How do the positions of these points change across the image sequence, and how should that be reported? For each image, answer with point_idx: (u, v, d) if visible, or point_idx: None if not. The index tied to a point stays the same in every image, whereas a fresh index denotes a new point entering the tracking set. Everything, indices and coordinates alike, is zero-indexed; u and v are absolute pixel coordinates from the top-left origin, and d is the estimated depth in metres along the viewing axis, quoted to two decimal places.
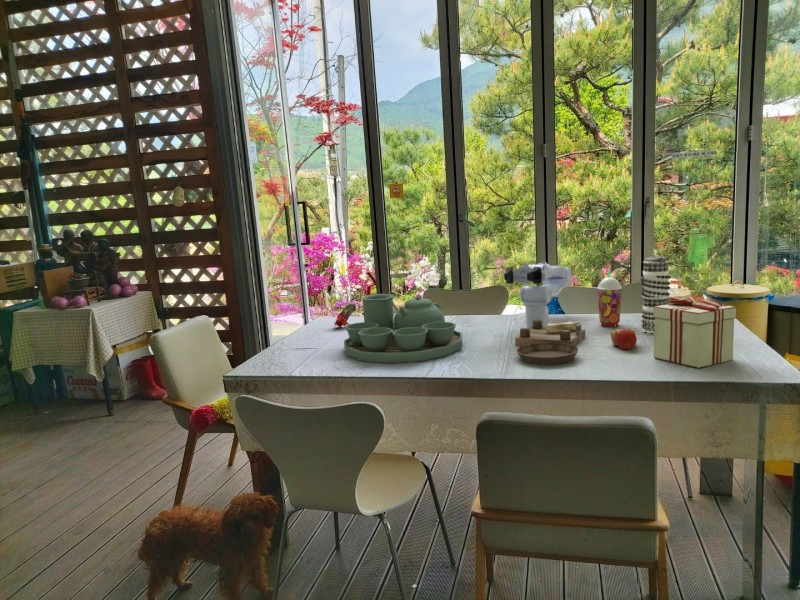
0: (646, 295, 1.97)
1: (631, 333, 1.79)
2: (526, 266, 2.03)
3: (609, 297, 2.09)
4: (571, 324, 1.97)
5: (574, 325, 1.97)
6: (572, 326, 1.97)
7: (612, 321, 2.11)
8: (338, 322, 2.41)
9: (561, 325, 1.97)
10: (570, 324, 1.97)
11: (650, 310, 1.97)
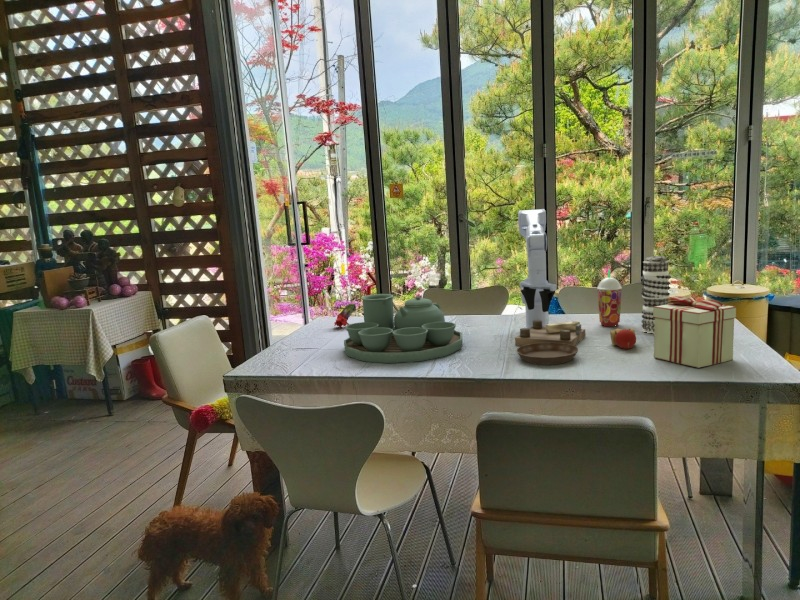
0: (646, 295, 1.97)
1: (631, 333, 1.80)
2: (532, 286, 1.97)
3: (609, 297, 2.09)
4: (571, 324, 1.97)
5: (574, 325, 1.97)
6: (572, 326, 1.97)
7: (612, 321, 2.11)
8: (338, 322, 2.41)
9: (561, 325, 1.97)
10: (570, 324, 1.97)
11: (650, 310, 1.97)
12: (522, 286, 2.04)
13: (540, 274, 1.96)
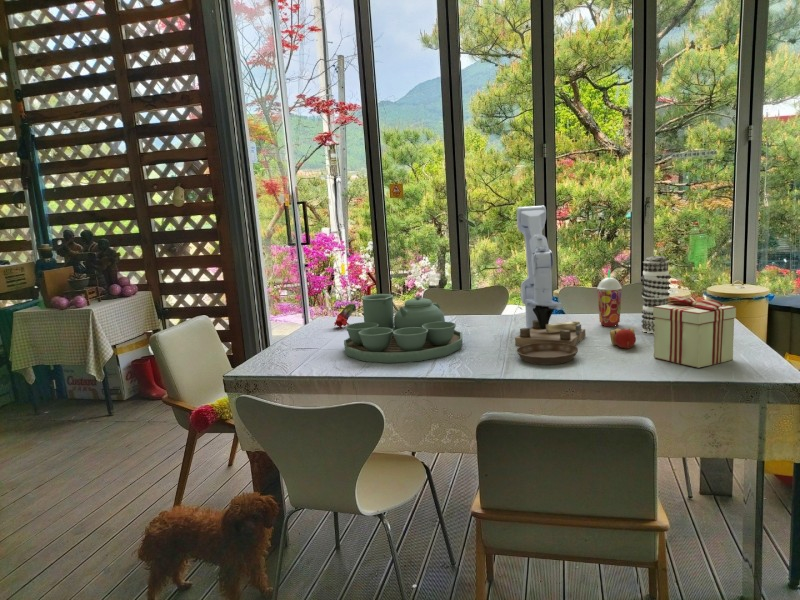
0: (646, 295, 1.97)
1: (630, 333, 1.80)
2: (538, 305, 1.96)
3: (609, 297, 2.09)
4: (571, 324, 1.97)
5: (574, 325, 1.97)
6: (572, 326, 1.97)
7: (612, 321, 2.11)
8: (338, 322, 2.41)
9: (561, 325, 1.97)
10: (570, 324, 1.97)
11: (650, 310, 1.97)
12: (527, 304, 2.03)
13: (546, 292, 1.95)
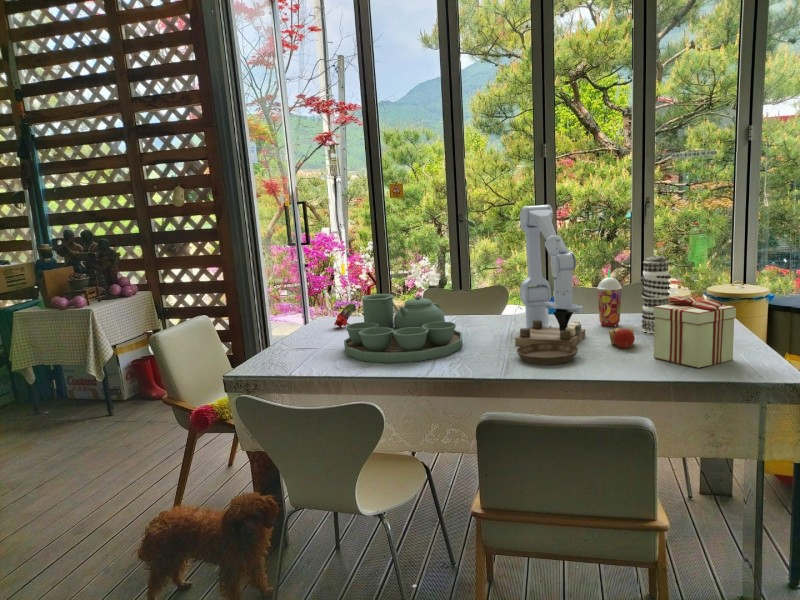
0: (646, 295, 1.97)
1: (629, 332, 1.80)
2: None
3: (609, 297, 2.09)
4: None
5: None
6: None
7: (612, 321, 2.11)
8: (338, 322, 2.41)
9: None
10: None
11: (650, 310, 1.97)
12: (547, 307, 1.96)
13: (566, 295, 1.88)
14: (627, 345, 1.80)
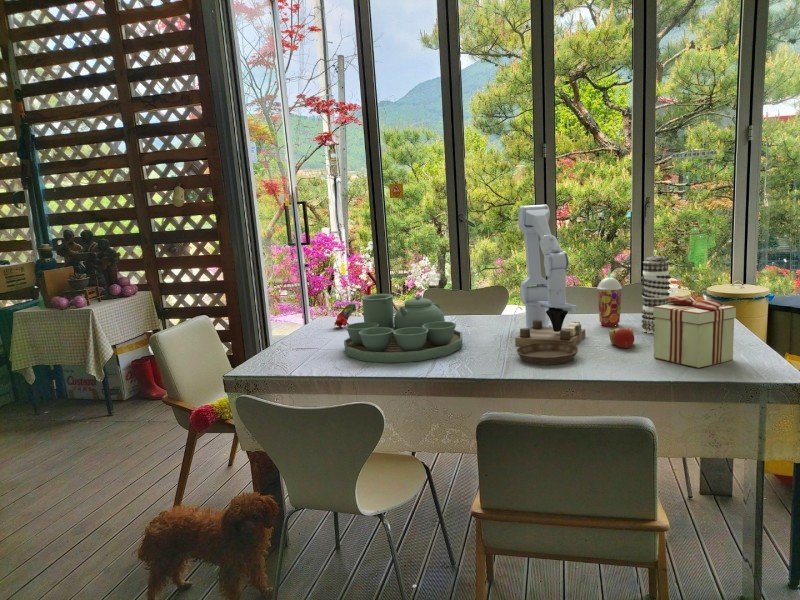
0: (646, 295, 1.97)
1: (629, 332, 1.81)
2: (552, 307, 1.91)
3: (609, 297, 2.09)
4: None
5: None
6: None
7: (612, 321, 2.11)
8: (338, 322, 2.41)
9: (575, 326, 1.93)
10: None
11: (650, 310, 1.97)
12: (540, 306, 1.98)
13: (560, 294, 1.90)
14: (627, 345, 1.80)
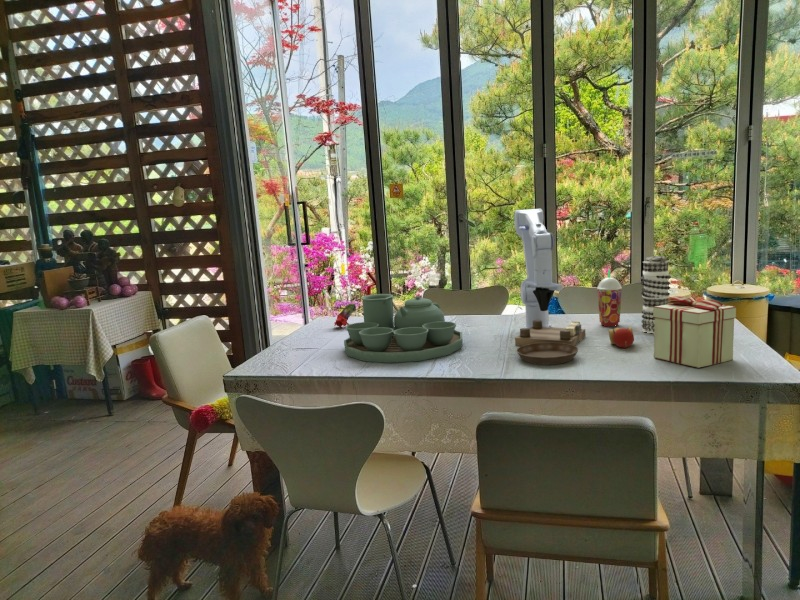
0: (646, 295, 1.97)
1: (628, 332, 1.81)
2: (538, 286, 1.96)
3: (609, 297, 2.09)
4: None
5: None
6: None
7: (612, 321, 2.11)
8: (338, 322, 2.41)
9: (575, 326, 1.93)
10: None
11: (650, 310, 1.97)
12: (528, 286, 2.03)
13: (546, 274, 1.95)
14: (626, 345, 1.81)
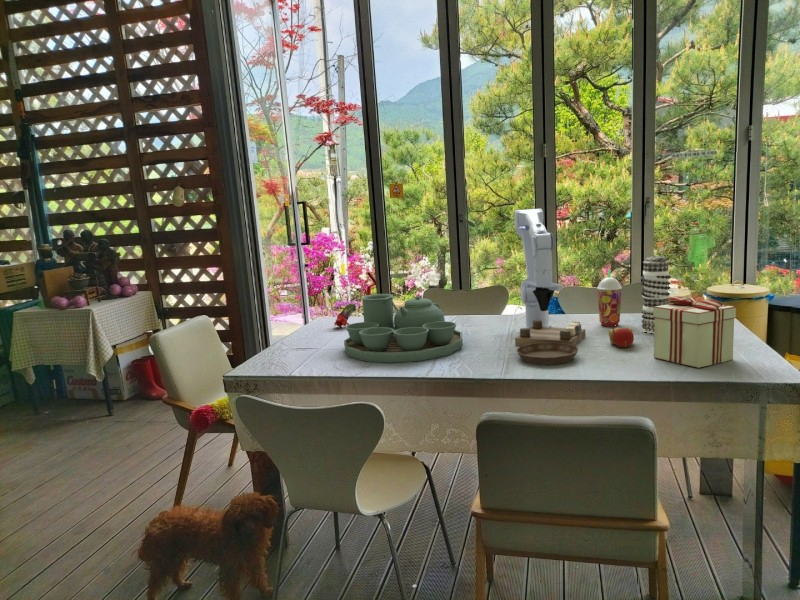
0: (646, 295, 1.97)
1: (628, 332, 1.81)
2: (538, 286, 1.96)
3: (609, 297, 2.09)
4: None
5: None
6: None
7: (612, 321, 2.11)
8: (338, 322, 2.41)
9: (575, 326, 1.93)
10: None
11: (650, 310, 1.97)
12: (528, 286, 2.03)
13: (546, 274, 1.95)
14: (626, 344, 1.81)
